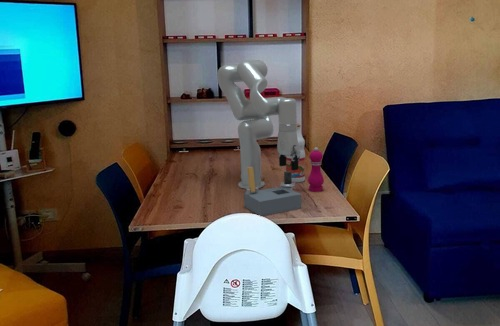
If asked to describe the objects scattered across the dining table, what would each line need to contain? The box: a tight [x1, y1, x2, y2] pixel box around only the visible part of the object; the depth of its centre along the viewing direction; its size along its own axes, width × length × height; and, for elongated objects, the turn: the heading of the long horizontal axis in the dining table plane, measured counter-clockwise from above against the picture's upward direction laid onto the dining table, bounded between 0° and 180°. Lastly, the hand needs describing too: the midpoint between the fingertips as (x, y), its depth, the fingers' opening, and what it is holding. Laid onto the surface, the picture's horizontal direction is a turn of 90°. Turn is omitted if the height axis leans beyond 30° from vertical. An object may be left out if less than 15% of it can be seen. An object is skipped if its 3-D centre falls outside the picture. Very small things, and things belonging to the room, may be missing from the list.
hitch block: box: [243, 186, 302, 217], centre depth 199 cm, size 14×19×8 cm
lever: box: [247, 167, 256, 193], centre depth 198 cm, size 11×2×2 cm
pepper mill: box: [307, 147, 325, 193], centre depth 220 cm, size 7×7×20 cm
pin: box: [280, 170, 296, 191], centre depth 209 cm, size 6×6×12 cm
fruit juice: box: [285, 123, 306, 183], centre depth 236 cm, size 9×9×28 cm
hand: (288, 167), depth 207 cm, fingers open, 9 cm apart
